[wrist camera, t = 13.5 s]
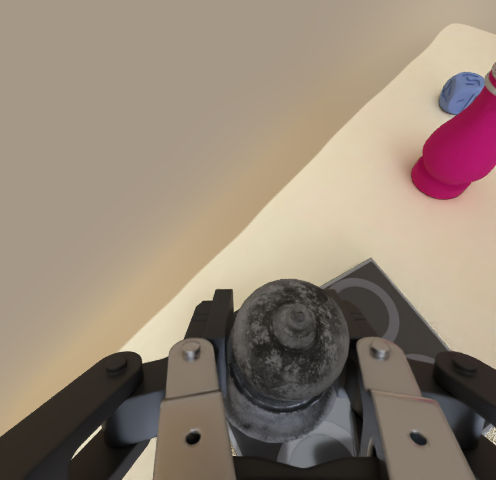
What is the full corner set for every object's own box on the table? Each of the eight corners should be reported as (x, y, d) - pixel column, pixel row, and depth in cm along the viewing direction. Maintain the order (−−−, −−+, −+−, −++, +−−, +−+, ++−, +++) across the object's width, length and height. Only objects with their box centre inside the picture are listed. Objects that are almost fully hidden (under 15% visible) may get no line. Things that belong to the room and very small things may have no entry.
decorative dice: (441, 113, 41) (458, 87, 38) (436, 96, 43) (452, 70, 40) (470, 116, 41) (490, 90, 38) (464, 98, 43) (483, 72, 39)
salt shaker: (197, 359, 16) (90, 287, 6) (276, 298, 18) (308, 154, 7) (261, 462, 14) (283, 673, 3) (346, 381, 15) (541, 347, 5)
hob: (367, 261, 30) (372, 255, 29) (496, 415, 23) (512, 416, 22) (197, 359, 26) (194, 357, 24) (294, 584, 19) (297, 599, 18)
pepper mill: (405, 155, 38) (536, -55, 20) (463, 163, 37) (654, -49, 19) (407, 197, 34) (565, -10, 17) (471, 208, 33) (710, 0, 16)
